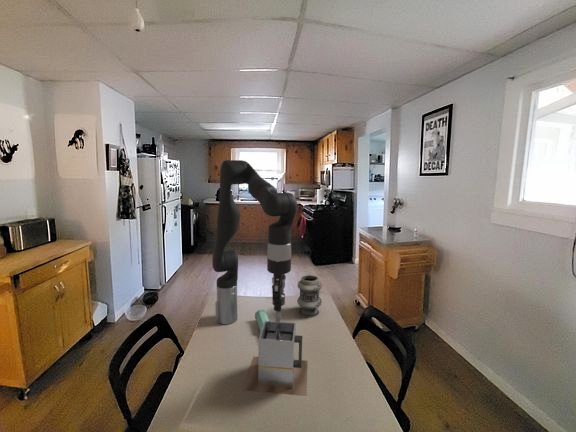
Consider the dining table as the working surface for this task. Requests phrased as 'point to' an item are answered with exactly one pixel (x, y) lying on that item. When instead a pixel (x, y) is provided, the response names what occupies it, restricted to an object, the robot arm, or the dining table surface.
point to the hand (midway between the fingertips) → (278, 307)
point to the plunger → (278, 318)
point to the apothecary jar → (309, 295)
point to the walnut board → (297, 389)
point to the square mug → (278, 356)
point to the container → (261, 318)
